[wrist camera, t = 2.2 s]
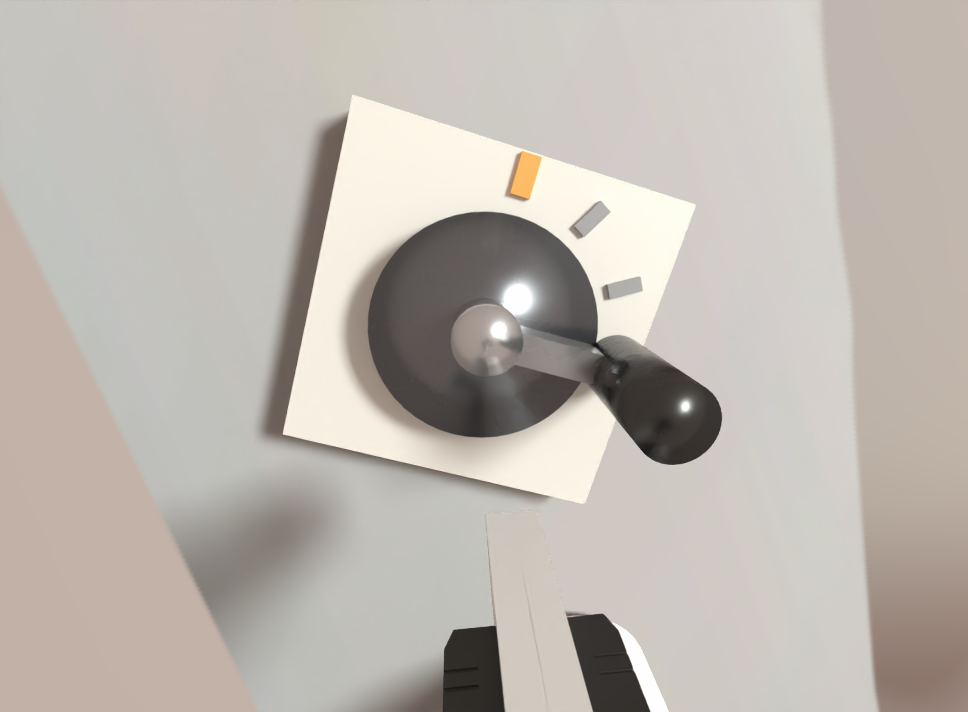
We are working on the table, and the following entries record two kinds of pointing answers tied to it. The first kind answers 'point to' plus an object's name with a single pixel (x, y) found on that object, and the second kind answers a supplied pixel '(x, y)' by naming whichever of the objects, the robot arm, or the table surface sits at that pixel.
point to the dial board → (438, 195)
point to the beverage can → (642, 671)
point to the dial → (518, 340)
